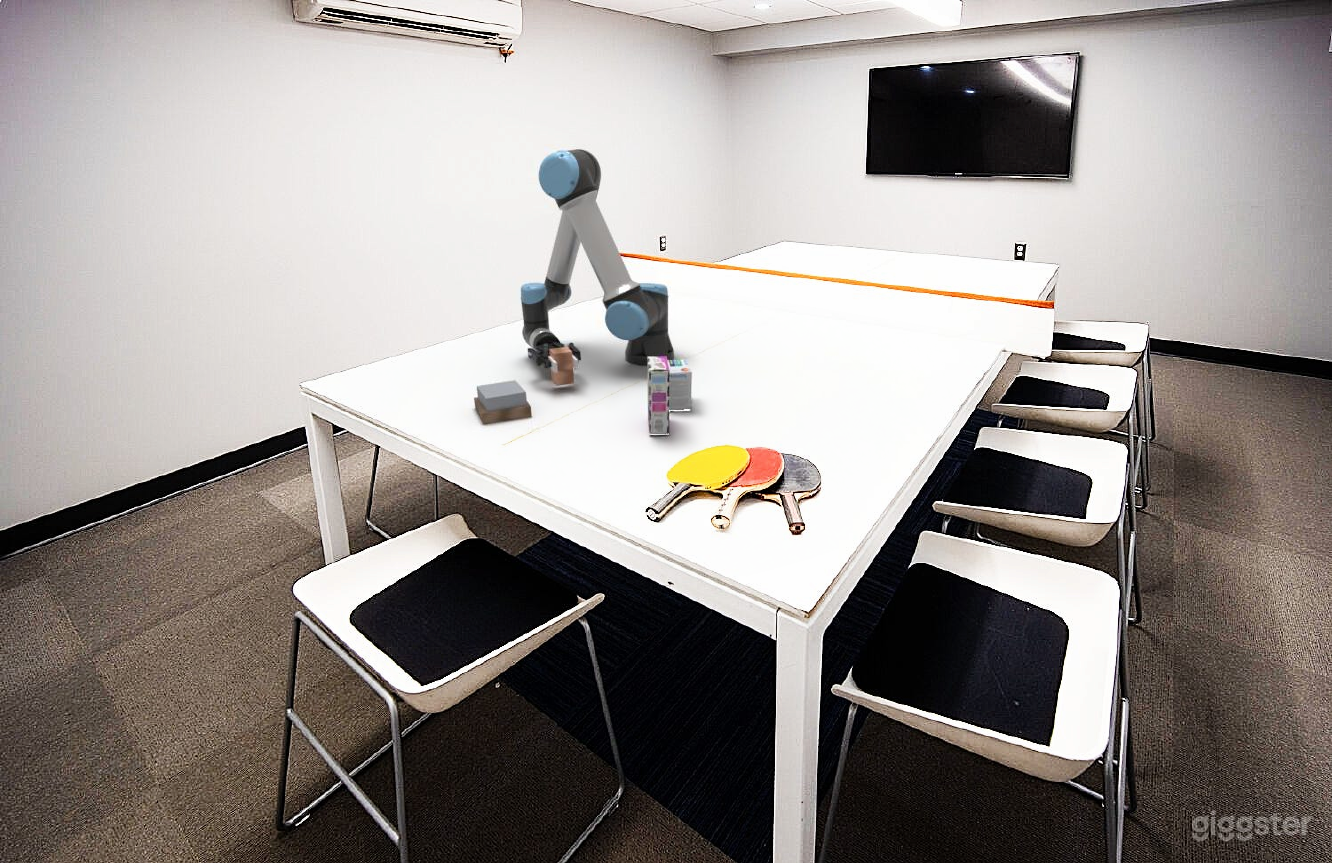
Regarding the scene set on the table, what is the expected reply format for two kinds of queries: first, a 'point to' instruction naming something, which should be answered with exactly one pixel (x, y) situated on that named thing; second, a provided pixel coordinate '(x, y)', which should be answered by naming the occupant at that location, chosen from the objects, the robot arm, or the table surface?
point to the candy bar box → (658, 395)
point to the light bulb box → (680, 384)
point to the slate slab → (501, 395)
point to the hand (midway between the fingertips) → (566, 366)
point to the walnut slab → (502, 413)
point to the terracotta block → (562, 366)
